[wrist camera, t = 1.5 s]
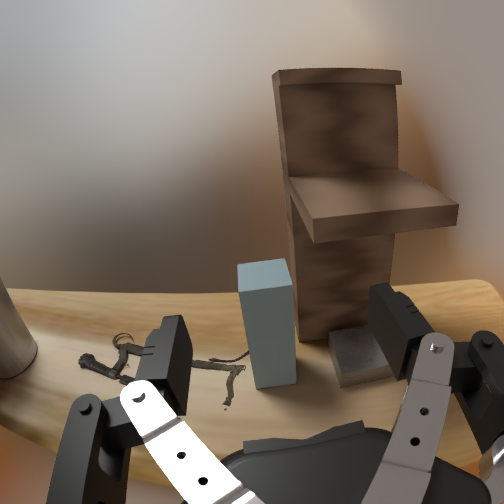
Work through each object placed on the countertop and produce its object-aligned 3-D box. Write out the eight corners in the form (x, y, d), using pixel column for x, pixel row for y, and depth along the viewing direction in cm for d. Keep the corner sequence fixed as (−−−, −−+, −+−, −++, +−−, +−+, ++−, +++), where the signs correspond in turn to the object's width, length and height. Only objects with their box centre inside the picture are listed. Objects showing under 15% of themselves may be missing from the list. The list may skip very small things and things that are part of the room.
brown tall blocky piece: (313, 409, 25) (297, 55, 12) (294, 319, 37) (271, 75, 24) (411, 386, 25) (460, 67, 12) (371, 306, 37) (375, 73, 24)
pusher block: (256, 388, 28) (238, 291, 23) (253, 359, 32) (237, 264, 26) (296, 383, 28) (292, 284, 23) (290, 354, 32) (284, 258, 26)
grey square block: (339, 389, 27) (341, 374, 26) (327, 347, 32) (328, 331, 31) (395, 377, 27) (400, 361, 26) (377, 338, 32) (380, 322, 31)
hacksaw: (77, 367, 33) (72, 360, 32) (119, 319, 41) (116, 312, 41) (256, 426, 25) (254, 418, 24) (283, 349, 33) (283, 340, 33)
